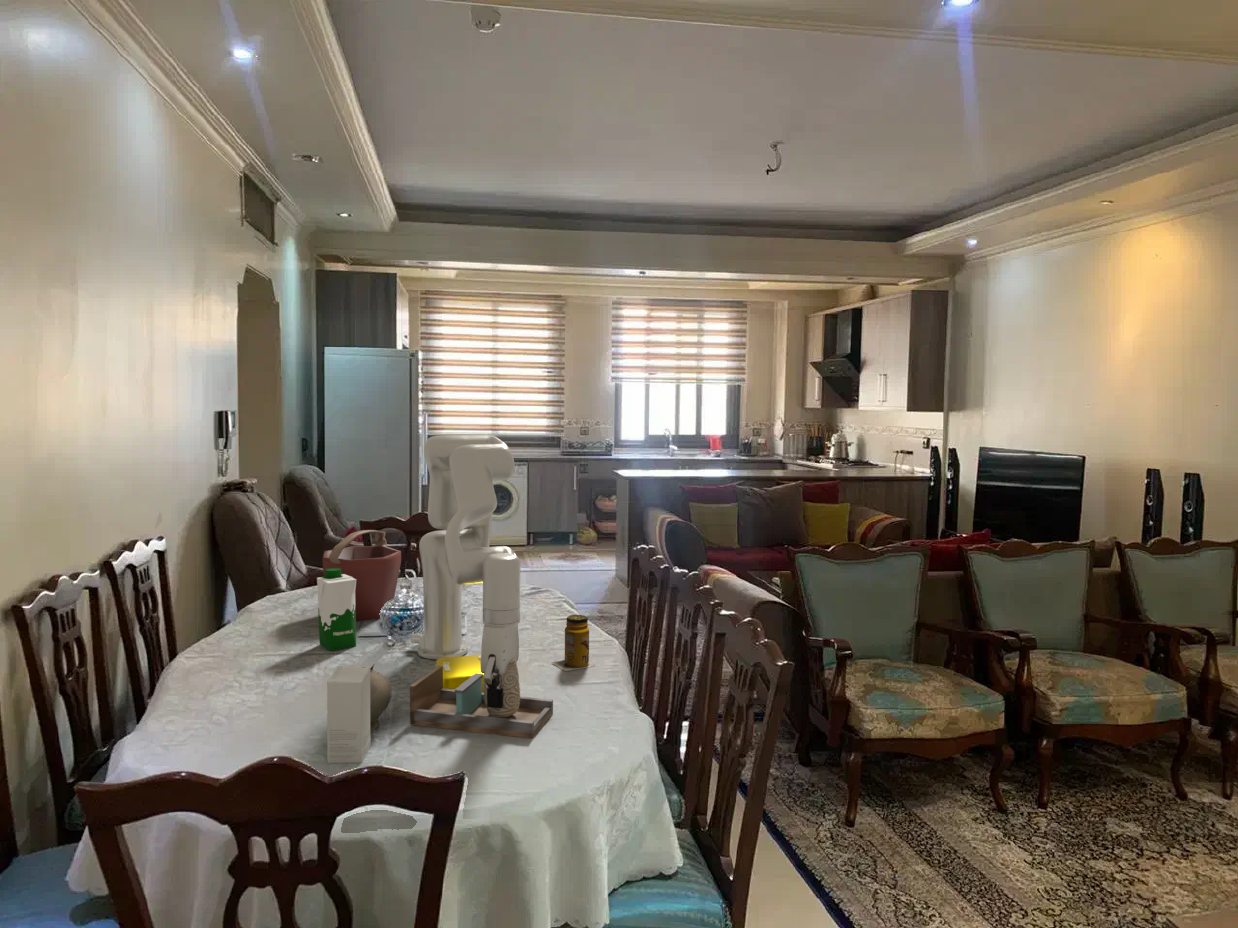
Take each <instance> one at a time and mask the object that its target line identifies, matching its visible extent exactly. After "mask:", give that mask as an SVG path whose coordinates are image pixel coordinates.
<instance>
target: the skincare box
mask: <svg viewBox="0 0 1238 928" xmlns="http://www.w3.org/2000/svg"><path fill="white" fill-rule="evenodd" d="M370 668H371V666H370V665H354V666H353V665H352V666H350V665H342V666H336V668H335V670H334V671H333V672H332V674H331V676H330V677H329V678H328V680H327V681H326V685H327V686H326V690H327V691H326V692H327V693H326V696H327V697H326V698H327V699H326V700H327V701H326V703H327V705H326V706H327V708H326V713H327V714H326V715H327V717H326V720H327V721H326V722H327V723H326V724H327V726H326V729H327V730H326V731H327V733H326V734H327V735H326V737H327V741H326V742H327V743H326V744H327V746H326V747H327V748H326V749H327V757H326V758H327V759H326V760H327V764H328V765H329V764H331V765H332V764H362V763H363V761H364V759H365V757H366V755H367V752H368V750H369V748H370V746H371V743H372V742H371V734H370Z"/></svg>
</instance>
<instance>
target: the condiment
mask: <svg viewBox="0 0 1238 928" xmlns="http://www.w3.org/2000/svg"><path fill="white" fill-rule="evenodd" d="M588 621H589V619H588V616H586V615H583V614H571V615H568V616H567V617H566V624H565V625H566V626H565V628H564V659H562V660H559V661H558V660H557V661H551V664H553V665H554V666H555V667H557V668H559V669H561V670H562V671H564V672H569V671H574V670H575V671H576V670H581V669H585V668H590V667H591V668H592V667H595V666H596V664H594V663H592V662H590V627H589V624H588Z"/></svg>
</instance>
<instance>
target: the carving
mask: <svg viewBox="0 0 1238 928" xmlns="http://www.w3.org/2000/svg"><path fill="white" fill-rule="evenodd" d="M517 663H518V661H517V662H516V659H515V658H513V659H512V660H510V661H509V664H508V668H507V670H506V673H504V674H503V676H502V685H501V688H503V707H502V708H492V707H488V706H487V688H486V685H487V684H486V681H485V679H484V682H483V691H484V692H483V693H484V699H485V704H486V706H487V711H488V713H489V715H490V716H492V717H507V716H511V715H513V714H515V713H516V712H517V711H518V709H519V705H520V697H521V688H520V682H519V681H520V680H519V679H520V677H519V676H520V675H519V669H518V665H517ZM498 672H499V669H494V673H498ZM484 675H485V673H484ZM493 678H494V679H496V681H497V682H498V676H493Z"/></svg>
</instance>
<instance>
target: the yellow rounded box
mask: <svg viewBox="0 0 1238 928" xmlns="http://www.w3.org/2000/svg"><path fill="white" fill-rule="evenodd" d="M437 666H443V689H452V690H455V689H456V688H458V687H459V686H460V685H461V684H462V683H464V682H465V681H466V680H467V679H469V678H470V677H471V676H472V675H474V674H475V673H479V674H483V673H481V654H474V655H473V654H471V655H462V656H459V657H447V658H439V659H436V661H435V668H436V667H437ZM483 682H484V674H483V677H482V693H484V691H483Z"/></svg>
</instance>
